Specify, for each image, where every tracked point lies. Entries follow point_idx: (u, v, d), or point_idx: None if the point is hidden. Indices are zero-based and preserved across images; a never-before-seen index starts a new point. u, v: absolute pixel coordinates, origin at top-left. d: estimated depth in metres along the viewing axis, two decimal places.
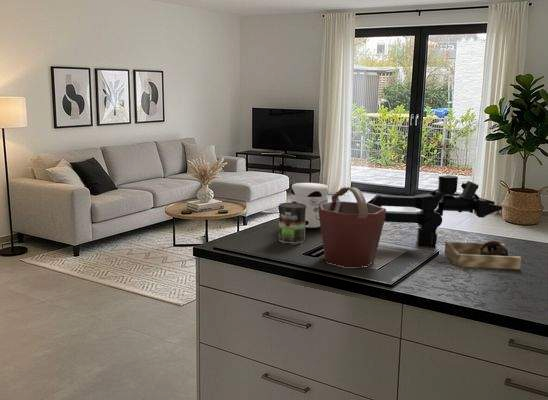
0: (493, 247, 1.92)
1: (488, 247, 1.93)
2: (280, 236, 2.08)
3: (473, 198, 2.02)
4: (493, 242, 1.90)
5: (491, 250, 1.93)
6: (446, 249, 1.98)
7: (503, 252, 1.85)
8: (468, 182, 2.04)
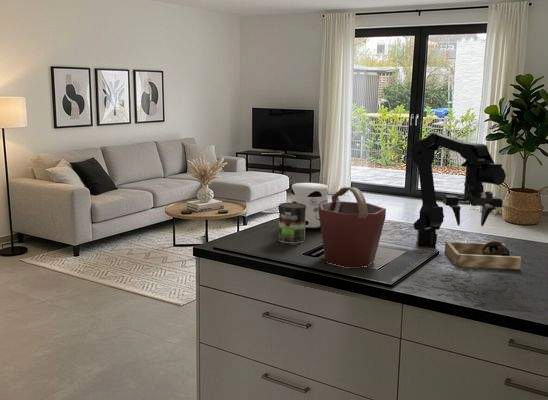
0: (494, 247, 1.92)
1: (489, 247, 1.92)
2: (280, 236, 2.08)
3: (466, 198, 1.85)
4: (494, 242, 1.90)
5: (492, 250, 1.93)
6: (446, 249, 1.98)
7: (505, 252, 1.85)
8: (482, 197, 1.80)
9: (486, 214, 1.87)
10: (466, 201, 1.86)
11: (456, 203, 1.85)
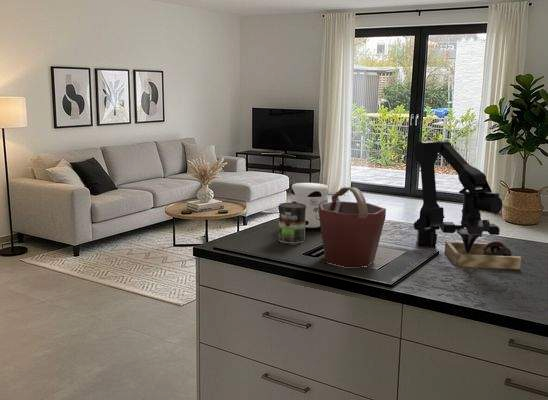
0: (496, 247, 1.92)
1: (491, 247, 1.92)
2: (280, 236, 2.08)
3: (463, 225, 1.87)
4: (496, 242, 1.89)
5: (494, 250, 1.93)
6: (446, 249, 1.98)
7: (506, 252, 1.85)
8: (479, 225, 1.81)
9: (472, 241, 1.89)
10: None
11: (453, 230, 1.87)
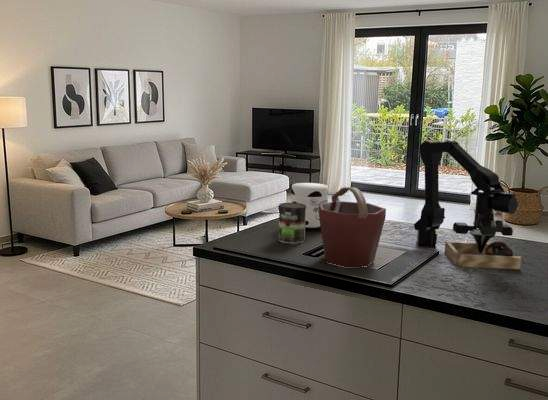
0: (498, 248, 1.92)
1: (492, 247, 1.92)
2: (280, 236, 2.08)
3: (476, 226, 1.87)
4: (498, 243, 1.89)
5: (496, 251, 1.93)
6: (446, 249, 1.98)
7: (508, 253, 1.85)
8: (492, 226, 1.81)
9: (485, 241, 1.89)
10: None
11: (466, 231, 1.87)
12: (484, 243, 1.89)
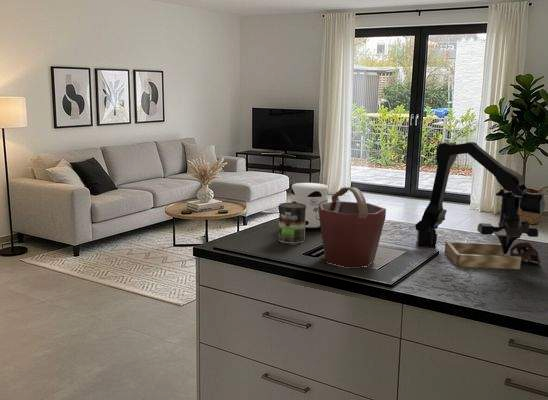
0: (523, 248, 1.91)
1: (518, 248, 1.91)
2: (280, 236, 2.08)
3: (501, 227, 1.86)
4: (523, 243, 1.88)
5: (521, 251, 1.92)
6: (446, 249, 1.98)
7: (534, 254, 1.84)
8: (518, 227, 1.80)
9: (510, 242, 1.88)
10: None
11: (491, 232, 1.86)
12: (509, 244, 1.88)
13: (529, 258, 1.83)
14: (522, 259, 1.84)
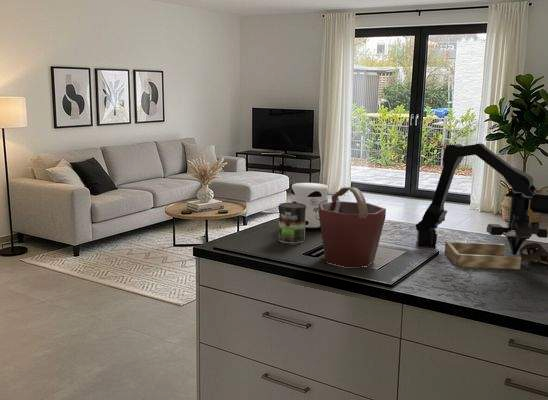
0: (532, 249, 1.91)
1: (527, 248, 1.91)
2: (280, 236, 2.08)
3: (511, 228, 1.86)
4: (533, 244, 1.88)
5: (530, 252, 1.92)
6: (446, 249, 1.98)
7: (544, 254, 1.84)
8: (528, 228, 1.80)
9: (519, 243, 1.88)
10: None
11: (501, 233, 1.86)
12: (518, 245, 1.88)
13: (539, 258, 1.83)
14: (532, 259, 1.84)
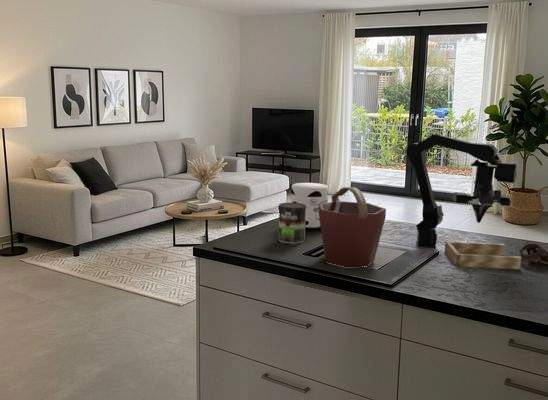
0: (532, 249, 1.91)
1: (527, 249, 1.91)
2: (280, 236, 2.08)
3: (475, 196, 1.93)
4: (533, 244, 1.88)
5: (530, 252, 1.92)
6: (446, 249, 1.98)
7: (544, 254, 1.84)
8: (491, 195, 1.88)
9: (483, 211, 1.95)
10: None
11: (465, 200, 1.94)
12: (483, 213, 1.96)
13: (539, 259, 1.83)
14: (532, 260, 1.84)
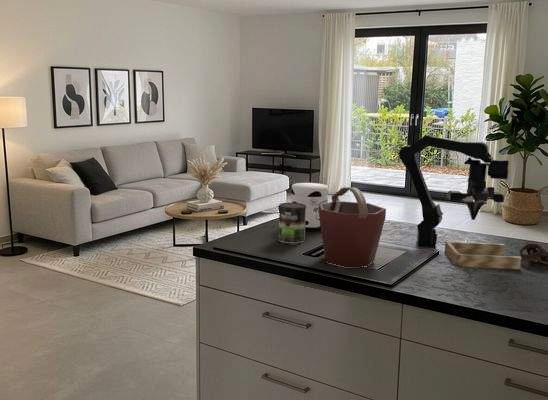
0: (532, 249, 1.91)
1: (527, 249, 1.91)
2: (280, 236, 2.08)
3: (469, 193, 1.96)
4: (533, 244, 1.88)
5: (530, 252, 1.92)
6: (446, 249, 1.98)
7: (544, 254, 1.84)
8: (484, 192, 1.90)
9: (477, 208, 1.98)
10: None
11: (460, 198, 1.96)
12: (477, 210, 1.98)
13: (539, 259, 1.83)
14: (532, 260, 1.84)
